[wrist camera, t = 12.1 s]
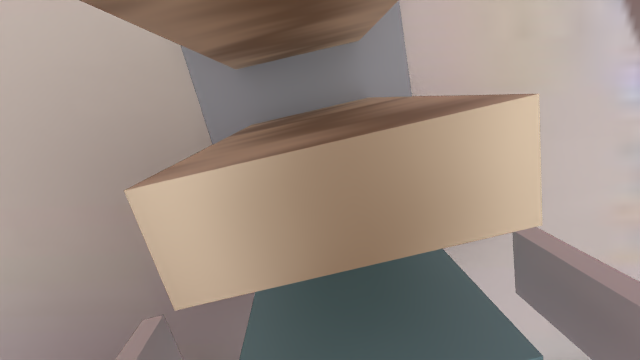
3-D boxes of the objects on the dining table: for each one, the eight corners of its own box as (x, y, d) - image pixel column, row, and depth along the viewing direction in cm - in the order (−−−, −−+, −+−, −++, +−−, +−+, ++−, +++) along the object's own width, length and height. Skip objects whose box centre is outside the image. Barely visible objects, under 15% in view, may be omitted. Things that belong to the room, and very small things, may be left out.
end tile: (284, 244, 20) (253, 503, 7) (274, 210, 19) (222, 430, 6) (389, 220, 20) (545, 436, 7) (383, 185, 19) (543, 356, 6)
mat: (271, 321, 22) (271, 325, 21) (78, -281, 13) (71, -294, 13) (435, 283, 21) (437, 286, 21) (348, -346, 13) (349, -359, 13)
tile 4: (262, 164, 18) (174, 310, 6) (251, 124, 17) (123, 190, 5) (375, 137, 18) (541, 225, 6) (368, 97, 17) (539, 93, 5)
